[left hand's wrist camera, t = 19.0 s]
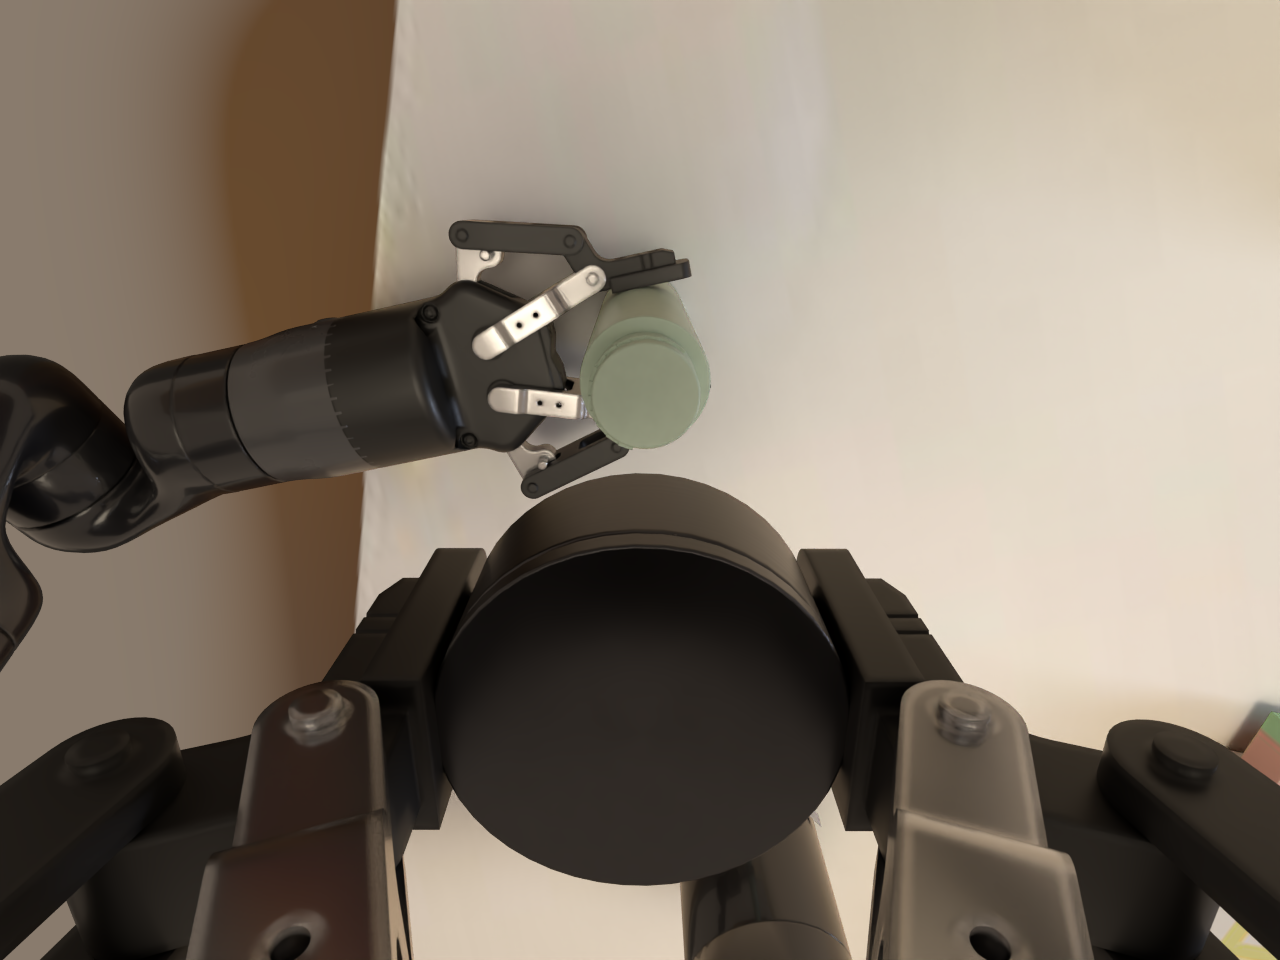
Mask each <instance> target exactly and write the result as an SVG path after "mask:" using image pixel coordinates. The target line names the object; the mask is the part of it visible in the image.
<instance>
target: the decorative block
mask: <svg viewBox="0 0 1280 960" xmlns="http://www.w3.org/2000/svg"><path fill="white" fill-rule="evenodd" d="M1230 751H1231V750H1230ZM1232 752H1233V753H1235V754H1236V755H1238V756H1239V757H1240V758H1242V759H1243V760H1245V761H1246V762H1247V763H1249V764H1250V765H1252V766H1253V767H1254V768H1256V769H1257V770H1259V771H1260V772H1261V773H1263V774H1264V775H1266V776H1267V777H1268V778H1270V779H1271V780H1272V781H1274V782H1275V783H1277V784H1278V785H1279V786H1280V713H1276V712H1271V713H1270V714H1269V716H1268V717H1267V719H1266V720H1265V722H1264V723H1263V725H1262V726H1261V728H1260V729H1259V731H1258V732H1257V734H1256V735H1255V737H1254V738H1253V740H1252V741H1251V742H1250V744H1249V745H1248V747H1247V748H1246V750H1245V751H1244V753H1240V752H1236V751H1232ZM1210 931H1211V932H1212V933H1213V934H1214V935H1215V936H1216V937H1217V938H1218V939H1219V940H1220V941H1221V942H1222V943H1223V944H1224V945H1225V946H1226V947H1227V948H1228V949H1229V950H1230V951H1231V952H1232V953H1233V954H1235V955H1236V956H1237V957H1238V958H1239V959H1240V960H1277V959H1276V958H1275V957H1274V956H1273V955H1272V954H1271V953H1269V952H1268V951H1267V950H1266V949H1265V948H1264V947H1263V946H1262V945H1261V944H1260V943H1259V942H1258V941H1257V940H1255V939H1254V938H1253V937H1252V936H1251V935H1250V934H1249V933H1248V932H1247V931H1246V930H1245V929H1244V928H1243V927H1242V926H1240V925H1239V924H1238V923H1237V922H1236V921H1235V920H1234V919H1233V918H1232V917H1231V916H1230V915H1229V914H1228V913H1226V912H1225V911H1224V910H1223V909H1222V908H1221V907H1219V909H1218V912H1217V914H1216V917H1215V919H1214V922H1213V924H1212V927H1211V929H1210Z"/></svg>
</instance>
